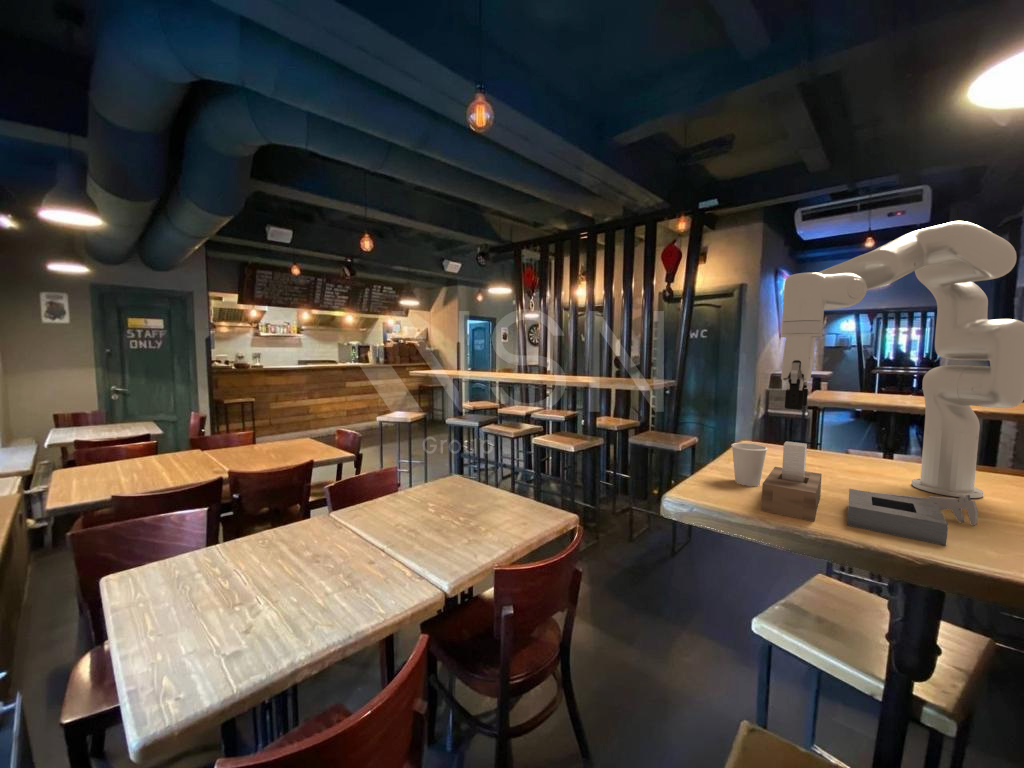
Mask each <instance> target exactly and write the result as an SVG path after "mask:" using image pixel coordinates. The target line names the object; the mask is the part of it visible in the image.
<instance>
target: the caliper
mask: <svg viewBox="0 0 1024 768" xmlns="http://www.w3.org/2000/svg"><path fill="white" fill-rule="evenodd" d="M872 492H873V493H877V492H874V491H872ZM878 493H879V494H885V495H891V496H897V497H903V498H910V499H916V500H922V501H928V502H934V503H937V505H938V507H939V508H940V510H941V511H945V510H951V512H952V513H953V515H954V516H955V519H956V520H957V521H958V522H957V523H959V522H961V524H964V523H965V517H964V512H963V510H966V511H967V512H966V513H967V515H968V519H969V523H970V526H975V525H977V524H978V517H979V516H978V514H979V513H978V512H979V511H978V506H977V503H976V500H972V498H970V495H966V496H965V497H964V496H963V495H962V494H959V497H948V496H947V497H944V496H936V495H935V496H934V495H933V496H932V495H929V496H928V497H926V496H925V497H923V496H913V495H907V494H905V495H904V494H897V493H896V494H895V493H885V492H878ZM963 522H964V523H963Z"/></svg>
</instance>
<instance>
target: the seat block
mask: <svg viewBox="0 0 1024 768" xmlns="http://www.w3.org/2000/svg"><path fill="white" fill-rule="evenodd" d="M848 489H849V490H848V501H847V503H848V504H847V518H846V520H847V521H846V526H849V527H854V528H858V529H863V530H867V531H873V532H878V533H883V534H887V535H892V536H896V537H901V538H907V539H910V540H911V539H912V540H915V541H916V540H917V541H921V542H926V543H931V544H936V545H940V546H947V541H948V540H947V538H948V528H949V527H948V526H949V524H948V522H947V519H946V518H945V517H944V514H943V513H942V510H940V508H939V507H938V505H937V503H934V502H928V501H922V500H916V499H910V498H903V497H897V496H891V495H885V494H879V493H880V492H876V493H873V492H874V491H868V490H867V491H865V490H860V489H854V488H848Z"/></svg>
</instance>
